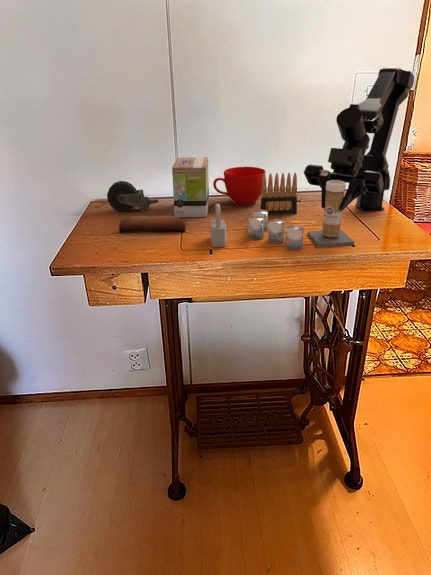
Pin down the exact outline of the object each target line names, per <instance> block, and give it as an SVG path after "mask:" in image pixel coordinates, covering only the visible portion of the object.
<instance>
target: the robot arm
mask: <svg viewBox="0 0 431 575" xmlns="http://www.w3.org/2000/svg"><path fill="white" fill-rule="evenodd" d="M377 76H378V77H377V78H376V80H375V82H374V84H373V86H372V87H371V89H370V91H369V93H368V95H367V97H366V98H365V100H364V101H362V102H359V103H351V104H349V107H347V108H345V109H343V110H341V111H340V112H339V114H337V116H336V118H335V119H336V125H337V128H338V131H339V134H340V137H341V139H342V140H343V141H344V143H343V146H342V147H341V148H340V147H331V148H330V152H329V155H328V159H327V162H328V163H330V166H329V167H330V169H331V170H333V171H329V170H327V169H324V166H323V165H320V164H311V163H310V164H307V166H305V168H304V171H303V174H304V177H305V178H306V181H307V183H308V184H309V185H311V186H319V187H320V189H321V198H320V199H321V202H320V203H321V208H322V209H325V198H326V182H327V181H329V180H341V181H344V182H345V183H346V184H347V183H348V185H347V189H346V190H345V192H344V198H343V200H342V202H341V205H340V208H339V210H340V211H342V212H343V211H344V210H345V209H346V208H347V207H348V206H349V205H350V204H351V203H352V202H353V201H354V200H355V199H356V203H355V206H356V207H357V208H359V209H360V210H361V211H364V212H371V211H383V210H384V211H385V207H383V202H384V201H383V200H384V197H385V196H384V194H385V191H389V190H390V187H391V176H390V171H389V163H388V160H387V157H386V156H387V152H388V148H389V145H390V140H391V137H392V134H393V130H394V126H395V122H396V118H397V115H398V111H399V107H400V105H401V104H403V102H404V101H406V99H407V98H408V96H409V94H410V90H411V89H413V87H414V83H415V75H414V74H413V73H412V72H411V70H404V69H403V68H401V67H398V66H391V67H390V66H389V67H388V66H387V67H386V66H385V67H382V68H380V69H379V71H378V74H377ZM369 134H373V137H372V140H371V138H370V136H369ZM371 141H372V142H371ZM370 142H371V144H370ZM369 144H370V145H369ZM369 147H370V148H369ZM368 149H369V151H368V152H367V150H368ZM366 152H367V153H366Z"/></svg>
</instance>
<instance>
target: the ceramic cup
mask: <svg viewBox="0 0 431 575" xmlns="http://www.w3.org/2000/svg"><path fill="white" fill-rule="evenodd" d="M264 173H265V175H266V170H265V169H264V168H260V167H255V166H235V167H230V168H227V169H225V170H224V171H223V177H217V178H215V179H214V180H213V182H212V183H213V184H212V186H213V188H214V190H215V191H216V192H217V193H218V194H222V195H224V196H225V195H226V196H228V198H230V199H231V201H232V202H233V203H234V205H236V206H243V207H244V206H252V205H254V204H255V203H256V202H257V201H258V200H259V199H260V198H261V187H262V178H263V174H264ZM219 181H222V182H223V183H224V187H225V190H226V192H225V191H222V190H220V189H218V187H217V182H219Z"/></svg>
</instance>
